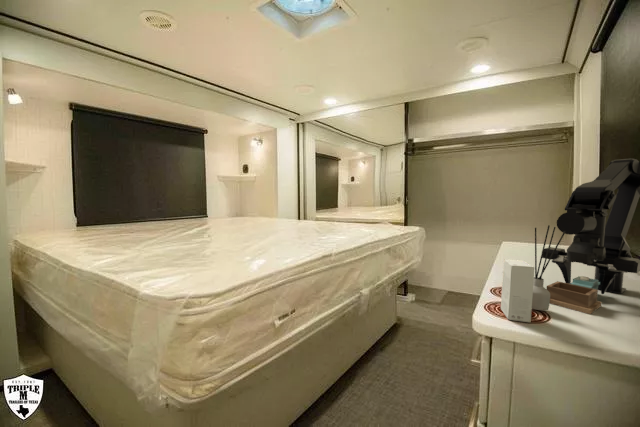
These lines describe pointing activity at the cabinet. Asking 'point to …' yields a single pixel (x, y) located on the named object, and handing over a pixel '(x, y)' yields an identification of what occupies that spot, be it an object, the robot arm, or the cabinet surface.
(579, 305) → the pocket holder
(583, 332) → the cabinet surface
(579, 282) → the block
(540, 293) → the reed diffuser
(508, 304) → the skincare box
